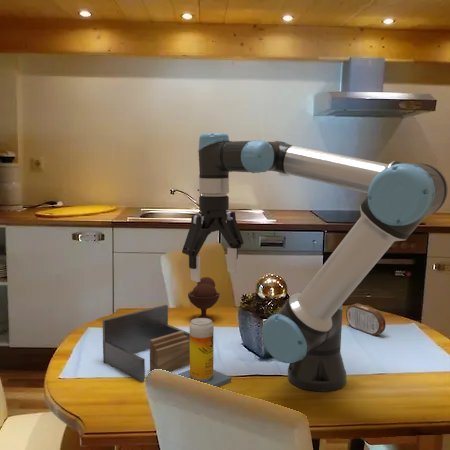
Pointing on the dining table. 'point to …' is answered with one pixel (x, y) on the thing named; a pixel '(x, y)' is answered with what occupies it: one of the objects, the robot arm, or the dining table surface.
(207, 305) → the ice cream bowl
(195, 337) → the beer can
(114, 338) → the grey open frame
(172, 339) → the offcuts
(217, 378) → the mat
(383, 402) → the dining table surface
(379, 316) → the tin
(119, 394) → the dining table surface
